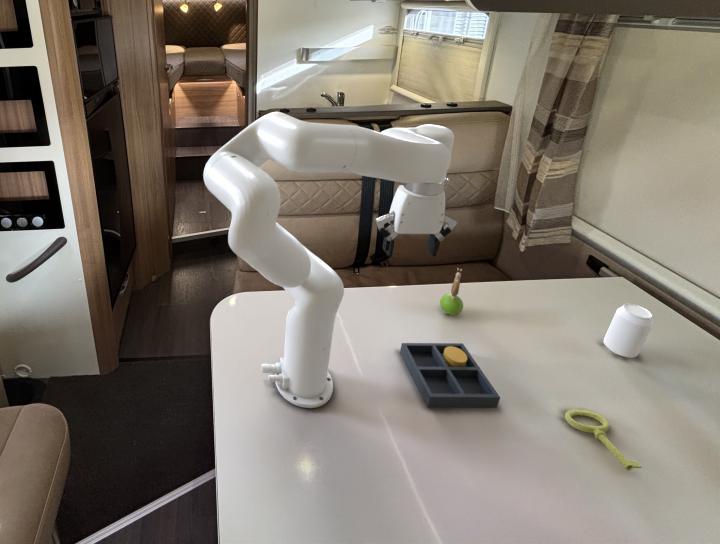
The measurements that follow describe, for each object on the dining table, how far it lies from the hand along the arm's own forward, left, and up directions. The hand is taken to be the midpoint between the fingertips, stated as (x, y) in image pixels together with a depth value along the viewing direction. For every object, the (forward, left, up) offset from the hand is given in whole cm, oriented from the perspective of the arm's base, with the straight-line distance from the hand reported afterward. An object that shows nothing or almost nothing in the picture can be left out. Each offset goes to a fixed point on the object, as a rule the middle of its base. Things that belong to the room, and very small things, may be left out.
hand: (409, 252), depth 95 cm
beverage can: (+54, -2, -26) cm, 60 cm away
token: (+11, -7, -26) cm, 29 cm away
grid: (+8, -10, -26) cm, 29 cm away
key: (+31, -24, -26) cm, 47 cm away
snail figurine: (+20, +11, -26) cm, 35 cm away
